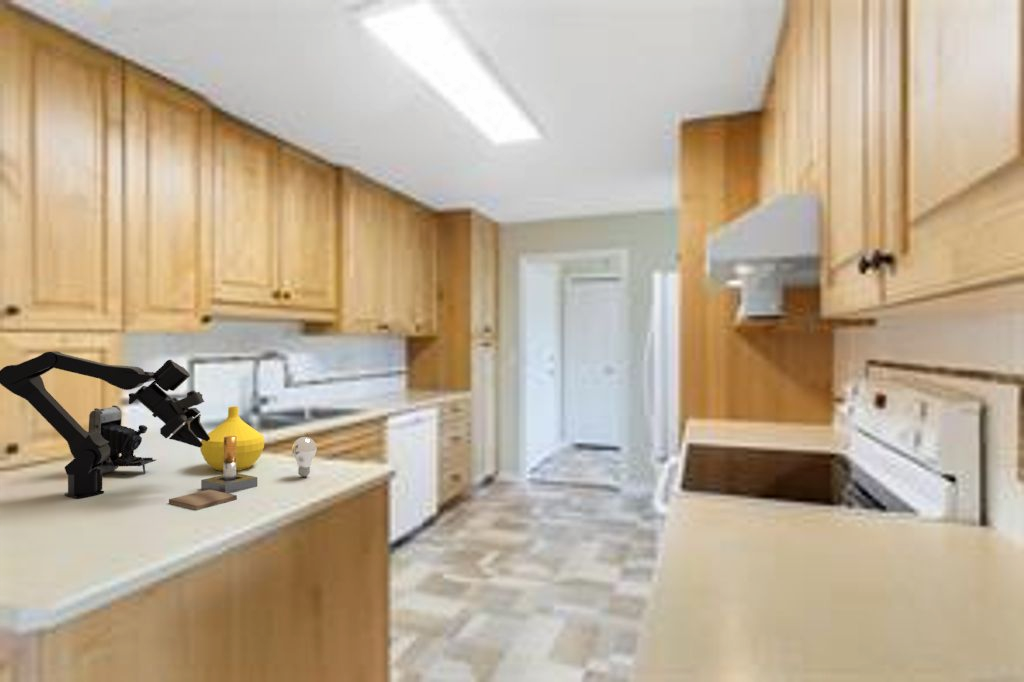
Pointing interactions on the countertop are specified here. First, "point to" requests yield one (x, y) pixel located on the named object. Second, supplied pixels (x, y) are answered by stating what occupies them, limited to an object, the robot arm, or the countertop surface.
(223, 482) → the chuck block
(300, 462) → the light bulb
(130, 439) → the vintage camera
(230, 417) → the vase
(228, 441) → the orange and silver cylinder
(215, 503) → the walnut pad
